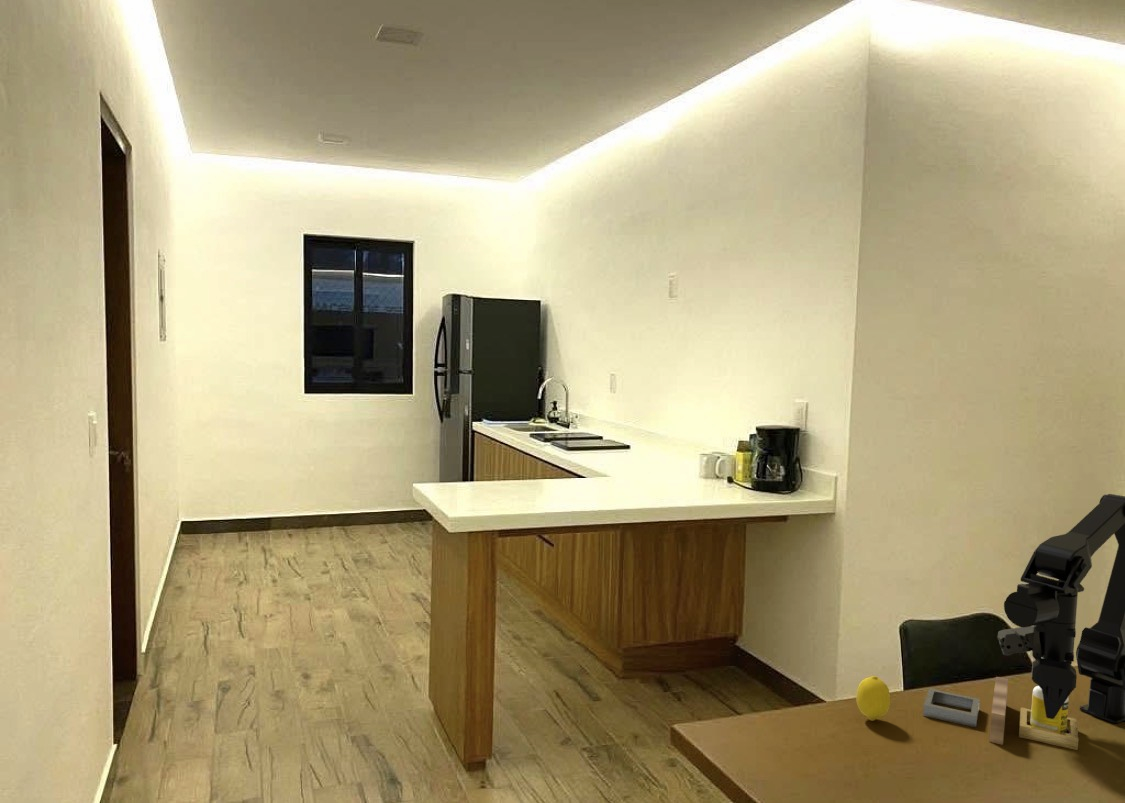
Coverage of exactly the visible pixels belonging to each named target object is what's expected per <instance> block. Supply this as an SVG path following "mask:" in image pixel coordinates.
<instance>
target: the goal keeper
mask: <svg viewBox="0 0 1125 803" xmlns="http://www.w3.org/2000/svg"><path fill="white" fill-rule="evenodd" d="M1030 719H1031V709H1029V708H1026V707H1020V711H1019V726H1018V727H1019V729H1018V731H1019V732H1018V737H1019V738H1022V739H1026V740H1031V741H1035V742H1041V743H1044V744H1047V745H1048V744H1049V745H1052V746H1057V747H1062V748H1066V749H1071V750H1075V751H1078V748H1079V730H1078V721H1077V718H1075V717H1074V718H1073V717H1068V716H1067V729H1066V733H1062V732H1058V731H1053V730H1048V729H1044V728H1039V727H1034V726H1030V724H1028V723H1030ZM1067 731H1068V733H1067Z"/></svg>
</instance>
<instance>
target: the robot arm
mask: <svg viewBox="0 0 1125 803" xmlns="http://www.w3.org/2000/svg"><path fill="white" fill-rule="evenodd" d="M1113 535H1114V537H1115V539H1116V541H1117V550H1116V553H1115V557H1114V559H1113V560H1114V561H1113V564H1112V568H1111V572H1110V577H1109V579H1108V583H1107V586H1106V591H1105V595H1104V598H1103V602H1102V605H1101V610H1100V613H1099V617H1098V620H1097V622H1096V623H1095V624H1093V625H1092V626H1091V627H1086V626H1085V627H1084V628H1083V630H1082V631H1081V636H1080V640H1079V643H1078V645H1077V648H1076V651H1075V652H1074V648H1075V639H1076V635H1077V634H1076V633H1077V631H1076V623H1077V622H1076V621H1077V608H1078V607H1077V606H1078V597H1079V596H1078V594H1079V593H1082V592H1084V591H1085V587H1084V586H1083V585H1082V584H1081V583H1082V581H1083V580H1084V579H1085V577H1086V576H1087V574H1088V573H1089V572H1090V570H1091V569H1092V567H1093V562H1092V557H1093V555H1094V554H1095V553H1096V552H1097V551H1098V550H1099V549H1100V548H1101V547H1103V545H1104V544H1105V543H1106V542H1107V541H1108V540H1109V539H1110V538H1111V537H1112V536H1113ZM1038 574H1039V575H1038ZM1020 582H1022V583H1020V584H1019V583H1018V584H1017V586H1016V591H1014V592H1011V593H1010V594H1008V596H1007V597H1006V599H1005V600H1004V603H1003V609H1004V613H1005V615H1006V617H1007V619H1008V620H1009V621H1010V623H1012V624H1013V625H1014V626H1017V627H1013V628H1007V629H1006V628H1005V629H1001V630H999V631H998V632H997V640H998V642H999V647H1000V649H1001V652H1002V655H1004V656H1012V655H1013V654H1020V653H1027V652H1028V653H1029V652H1031V653H1032V654H1031V656H1032V658H1034V660H1033V661H1032V666H1031V680H1032V682H1033V683H1034V684H1035V685H1037V686H1039V687H1040V688H1041V689H1042V693H1043V699H1044V706H1045V712H1046V717H1047V718H1050V719H1054V718H1055V716H1056V715H1057V713H1058V711H1059V710H1060V708H1061V707H1062V705H1063V704H1064V702H1065V701H1066V699H1067V698H1068V696H1069V697H1070V695H1071V693H1072V692H1073V691H1074V690H1075V689H1076V688H1077V670H1076V668H1075V667H1074V666H1073V665H1072V664H1073V663H1074V661H1075V657H1076V663H1077V669H1078V674H1079V675H1081V676H1085V677H1087V678H1090V681H1089V691H1088V692H1089V693H1088V703H1087V704H1084V705H1080V706H1079V708H1078V709H1079V711H1081V712H1085V713H1086V714H1087V713H1088V714H1089V715H1092V716H1095V717H1098V718H1099V719H1103V720H1105V721H1107V722H1110V723H1113V724H1118V723H1122V722H1125V495H1124V496H1123V495H1121V494H1115V493H1113V494H1112V493H1108V494H1104V495H1102V496H1101V498H1100V499H1099V503H1098V504H1097V505H1096V506H1095V507H1093V509H1092V510H1090V512H1088V513H1087V514H1086V515H1085V516H1083V518H1082V519H1081V520H1079V522H1078V523H1077V524H1075V526H1073V527H1072V528H1071V529H1070V530H1069V531H1068V532H1066V533H1063V534H1060V535H1055V536H1051V537H1049V538H1047V539H1046V540H1045V541H1042V542H1041V543H1040V544H1039V545H1038V546H1037V547H1036V548H1035V549H1034V551H1033V553H1032V555H1031V557H1030V558H1029V561H1028V563H1027V565H1026V566H1025V569H1024V571H1023V573H1022V575H1021V577H1020ZM1074 654H1075V655H1074Z"/></svg>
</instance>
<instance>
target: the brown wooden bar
mask: <svg viewBox="0 0 1125 803" xmlns="http://www.w3.org/2000/svg"><path fill="white" fill-rule="evenodd" d="M1008 687H1009V679H1008V678H1005V677H1000V676H995V682H994V690H993V697H992V706H991V715H990V728H989V743H993V744H998V745H1001V746H1003V745H1004V736H1005V728H1006V726H1005V725H1006V713H1007V704H1008V703H1007V701H1008Z"/></svg>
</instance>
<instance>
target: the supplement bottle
mask: <svg viewBox="0 0 1125 803" xmlns="http://www.w3.org/2000/svg"><path fill="white" fill-rule="evenodd" d="M1069 698H1070V695H1069V696H1068V698H1067V699H1066V701H1065V702H1064V704H1063V705H1062V707H1061V708H1060V710H1059V711H1058V713H1057V715H1056V716H1055V718H1054V719H1050V718H1047V717H1046V712H1045V706H1044V699H1043V693H1042V689H1041V688H1040V687H1039V686H1038V685H1037V686H1034V688H1033V689H1032V698H1031V719H1030V722H1029V725H1030V726H1034V727H1039V728H1044V729H1048V730H1053V731H1058V732H1062V733H1067V730H1066V729H1067V717H1068V716H1069V715H1068V714H1069V702H1070V701H1069V700H1070V699H1069Z"/></svg>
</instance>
